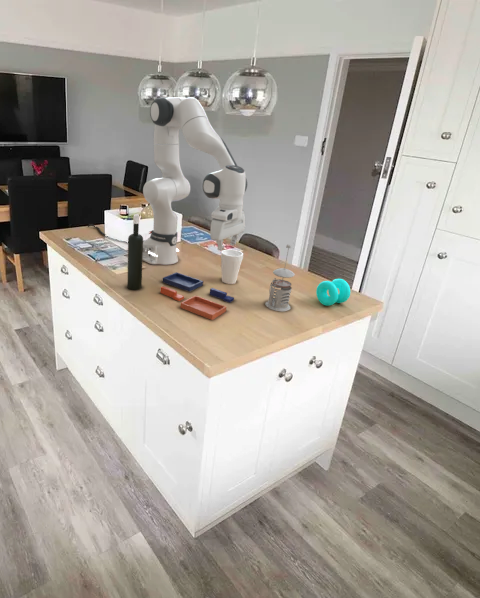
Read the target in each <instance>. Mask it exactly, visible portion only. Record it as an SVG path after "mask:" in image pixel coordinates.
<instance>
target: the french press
mask: <svg viewBox="0 0 480 598" xmlns="http://www.w3.org/2000/svg"><path fill="white" fill-rule="evenodd" d="M285 247H286V248H287V252H286V253H287V254H286V256H288V255H289V249H292V245H291V244H290V243H289V244H286V246H285ZM287 261H288V257H286V258H285V263H284V267H280V268H279V267H278V268H276V269H274V270H273V271H272V273H273V275H275V276H276V277H279V278H281V279H279V278H278V279H277V278H275V277H274V278H273V279H272V281H271V283H270V286H269V296H268V301H266V302H265V306H266V307H267V308H268V309H269V310H272V311H275V312H276V311H277V312H286V311H287V312H288V311H290V310H291V306H290V304H289V303H290V299H291V294H292V290H293V289H292V282H290V281H289V280H285V279H290V278H293V277H294V276H296V274H295V272H293V271H292V270H290V269H289V268H286V266H287Z"/></svg>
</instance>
